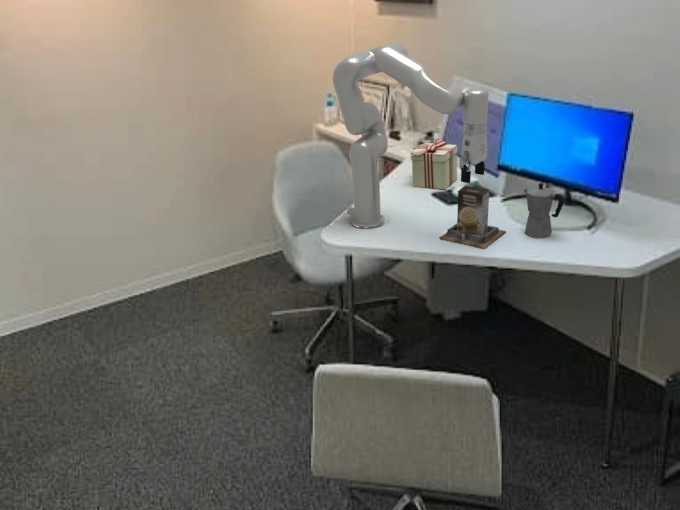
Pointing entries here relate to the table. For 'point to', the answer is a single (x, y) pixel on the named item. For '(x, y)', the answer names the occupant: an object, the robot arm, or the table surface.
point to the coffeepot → (541, 211)
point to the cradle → (473, 237)
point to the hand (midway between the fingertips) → (472, 178)
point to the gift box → (434, 165)
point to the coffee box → (473, 210)
